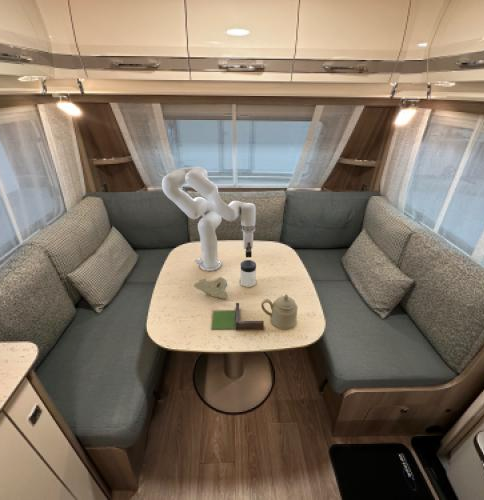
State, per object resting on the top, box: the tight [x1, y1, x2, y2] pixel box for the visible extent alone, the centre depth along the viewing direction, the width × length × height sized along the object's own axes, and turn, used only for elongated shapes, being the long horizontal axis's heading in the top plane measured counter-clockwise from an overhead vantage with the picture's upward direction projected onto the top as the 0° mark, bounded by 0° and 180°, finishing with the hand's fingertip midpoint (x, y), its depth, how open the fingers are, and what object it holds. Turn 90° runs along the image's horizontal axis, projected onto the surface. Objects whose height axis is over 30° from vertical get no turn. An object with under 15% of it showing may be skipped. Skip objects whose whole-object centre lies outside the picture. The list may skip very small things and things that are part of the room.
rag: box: [211, 310, 236, 330], centre depth 121 cm, size 10×11×1 cm
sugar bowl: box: [260, 294, 299, 330], centre depth 117 cm, size 15×11×15 cm
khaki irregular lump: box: [193, 276, 228, 300], centre depth 136 cm, size 15×7×15 cm
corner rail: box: [235, 302, 265, 331], centre depth 121 cm, size 12×13×4 cm
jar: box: [240, 259, 257, 288], centre depth 142 cm, size 9×8×12 cm
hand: (248, 256), depth 149 cm, fingers closed
